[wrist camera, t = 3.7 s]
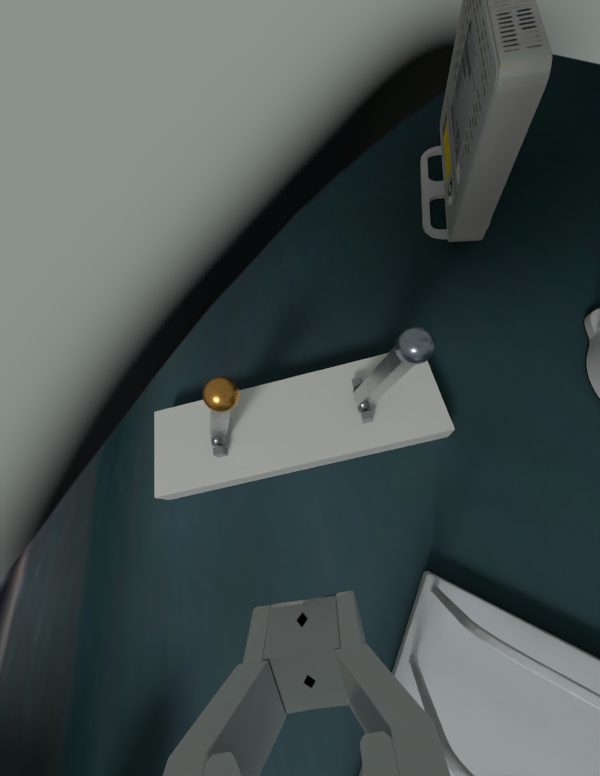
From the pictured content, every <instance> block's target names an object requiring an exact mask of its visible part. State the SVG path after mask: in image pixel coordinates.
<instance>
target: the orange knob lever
mask: <svg viewBox="0 0 600 776" xmlns="http://www.w3.org/2000/svg"><path fill="white" fill-rule="evenodd" d="M239 398H240V391H239V388H238V386H237V384H236V383H235V382H234V381H233V380H232V379H230V378H228V377H223V376H220V377H215V378H213V379H211V380H209V381H208V382H207V383H206V385H205V387H204V389H203V400H204V403H205V404H206V406H207V407H208V408H209V409H210V423H209V430H210V442H211V444H212V446H213V447H218V446H223V445H225V440H226V436H227V430H228V424H229V418H230V413H231V410H232V409H233V408H234V407H235V406H236V405H237V403H238V401H239Z"/></svg>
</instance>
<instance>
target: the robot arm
mask: <svg viewBox="0 0 600 776" xmlns="http://www.w3.org/2000/svg"><path fill="white" fill-rule="evenodd" d="M584 323H585V328H586V331H587V334H588V337H589V349H588V353H587V361H586V364H587V372H588V376H589V379H590V382H591V384H592V386H593V388H594V390H595V392H596V393H597V395H598V396H599V398H600V308H599V309H596V310H594V311H593V312H591V313H590V314H589V315H587V316H586V317H585V320H584ZM344 705H350V708H351V710H352V711H353V713H354V715H355V716H356V718H357V719H358V721H359V723H360V724H361V726H362V728H363V729H364V731H365V733H366V734H364V736H363V738H362V739H361V741H360V748H361V757H362V767H363V776H450V772H449V769H448V766H447V763H446V759H445V756H444V753H443V749H442V746H441V743H440V739H439V736H438V733H437V729H436V726H435V723H434V722H433V720H432V719H431V718H430V717H429V716H428V715H427V713H426V712H425V711H424V710H423V709H422V708H421V707H420V705H419V704H418V703H417V702H416V701H415V700H414V698H413V697H412V696H411V695H410V694H409V693H408V691H407V690H406V689H405V688H404V687H403V686H402V684H401V683H400V682H399V681H398V680H397V679H396V678H395V676H394V675H393V674H392V673H391V672H390V671H389V669H388V668H387V667H386V666H385V665H384V664H383V662H382V661H381V660H380V659H379V658H378V657H377V656H376V654H375V653H374V652H373V651H372V650H371V649H370V647H369V646H368V645H366V643H365V638H364V633H363V629H362V624H361V620H360V615H359V611H358V607H357V603H356V599H355V594H354V591H348V592H343V593H337V594H332V595H327V596H321V597H316V598H310V599H305V600H300V601H293V602H286V603H279V604H272V605H268V606H261V607H255V609H254V611H253V613H252V618H251V624H250V629H249V634H248V639H247V644H246V649H245V654H244V660H243V664H239V665H237V666H236V668H235V669H234V670H233V672H232V673H231V674H230V676H229V677H228V678H227V680H226V681H225V682H224V684H223V685H222V686H221V688H220V689H219V690H218V692H217V693H216V694H215V696H214V697H213V698H212V700H211V701H210V703H209V704H208V705H207V707H206V708H205V709H204V711H203V712H202V713H201V715H200V716H199V717H198V719H197V720H196V721H195V723H194V724H193V725H192V727H191V728H190V729H189V731H188V732H187V733H186V735H185V736H184V737H183V739H182V740H181V741H180V743H179V744H178V746H177V747H176V748H175V750H174V751H173V752H172V754H171V755H170V756H169V758H168V761H167V764H166V767H165V770H164V773H163V776H259V775H260V773H261V771H262V769H263V766H264V764H265V762H266V760H267V758H268V755H269V753H270V751H271V749H272V747H273V745H274V742H275V740H276V738H277V736H278V734H279V731H280V729H281V727H282V725H283V723H284V720H285V718H286V714H289V713H294V712H300V711H305V710H311V709H316V708H325V707H335V706H344Z"/></svg>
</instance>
